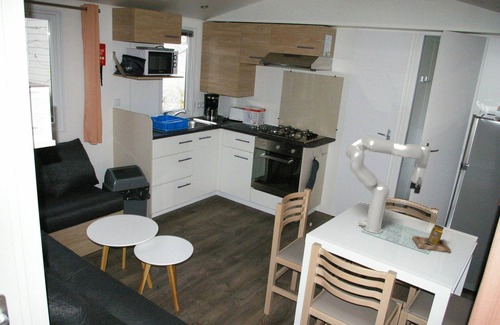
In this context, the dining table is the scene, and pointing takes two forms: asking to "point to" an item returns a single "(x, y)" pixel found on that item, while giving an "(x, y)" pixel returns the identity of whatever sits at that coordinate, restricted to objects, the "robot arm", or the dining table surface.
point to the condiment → (435, 235)
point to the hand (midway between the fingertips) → (414, 190)
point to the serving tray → (426, 246)
